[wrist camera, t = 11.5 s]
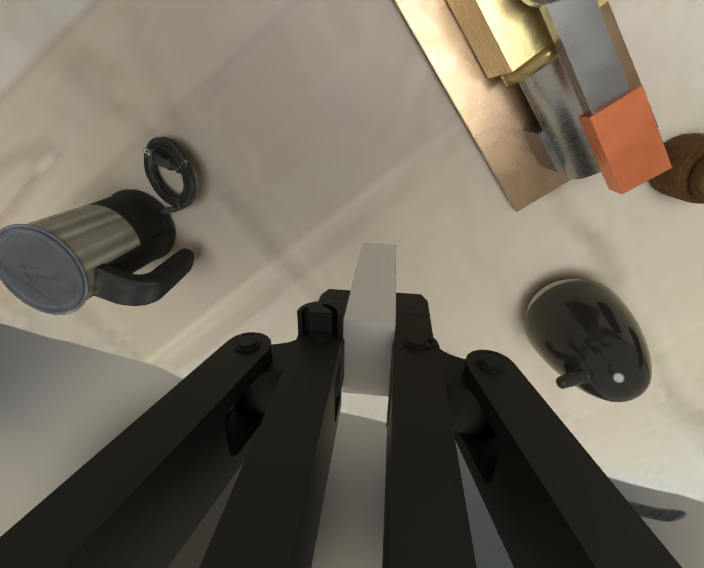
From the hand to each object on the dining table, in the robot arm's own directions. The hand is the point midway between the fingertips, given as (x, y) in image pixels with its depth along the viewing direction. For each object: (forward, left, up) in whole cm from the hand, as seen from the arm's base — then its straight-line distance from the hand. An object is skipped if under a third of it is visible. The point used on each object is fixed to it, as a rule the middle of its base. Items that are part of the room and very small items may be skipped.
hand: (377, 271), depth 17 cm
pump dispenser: (+25, +8, -27) cm, 37 cm away
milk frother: (-14, -25, -27) cm, 39 cm away
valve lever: (0, +16, -14) cm, 21 cm away
